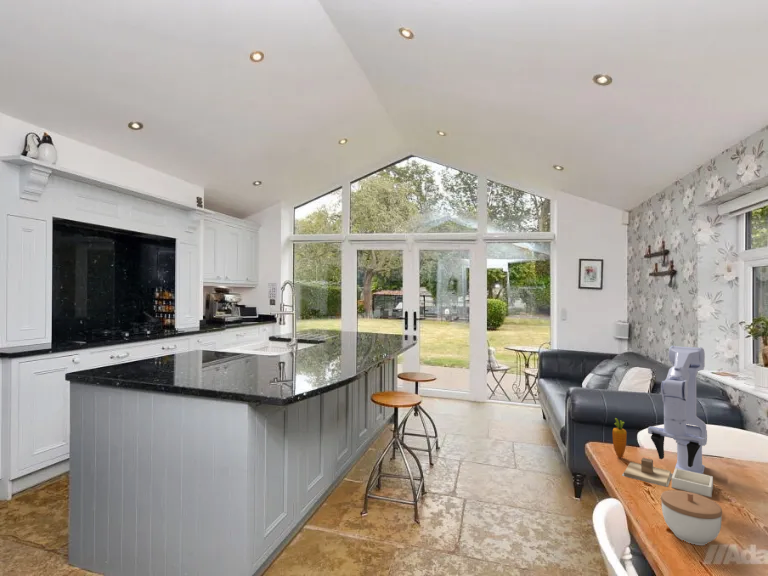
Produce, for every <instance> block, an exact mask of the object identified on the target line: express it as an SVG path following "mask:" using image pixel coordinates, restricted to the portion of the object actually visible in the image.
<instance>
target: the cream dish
mask: <svg viewBox="0 0 768 576" xmlns="http://www.w3.org/2000/svg"><path fill="white" fill-rule="evenodd" d="M671 488H672V489H677V490H680V491H686V492H691V493H695V494H698V495H701V496H704V497H707V498H712V496H713V495H712V494H713V490H714V489H713V488H714V476H712V475H709V474H705V473H703V474H700V473H695V472H691V471H686V470H682V469H677V468H675V467H674V470H673V473H672V477H671Z"/></svg>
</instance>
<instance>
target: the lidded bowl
mask: <svg viewBox="0 0 768 576" xmlns="http://www.w3.org/2000/svg"><path fill="white" fill-rule="evenodd" d="M660 500H661V501H660V502H661V511H662V516H663V519H664V521H665V523H666V525H667V527H668V528H669V529H670V530H671V531H672V532H673V534H674V536H675V537H676V538H678V539H679V540H681V541H683V540H684V541H683V542H685V541H686V542H685V543H687V542H688V544H690V543H691V545H694V544H695V546H706V545H705V544H707V543H708V542H709V543H711V542H713V541H715V539H716V538H717V537H718V536H719V534H720V531H721V528H722V515H723V509H722V507H721V506H720V504H718V503H717V502H716V501H714V500H713V499H711V498H710V497H708V496H704V495H700V494H696V493H692V492H688V491H684V490H680V489H677V490H675V489H671V490H665V491H662V493H660ZM709 543H708V544H709ZM708 544H707V545H708Z"/></svg>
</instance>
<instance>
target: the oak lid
mask: <svg viewBox="0 0 768 576" xmlns="http://www.w3.org/2000/svg"><path fill="white" fill-rule="evenodd" d="M640 461H641V462H640V463H637V462H635V461H630V462H629V463H628V465H627V467H626V468H625V470H624V471H623V473H624V476H623V477H625V476H628V477H627V478H629V477H632V478H631V479H633V478H636V479H635V480H637V479H640V480H639V481H641V480H644V481H643V482H645V481H648V482H647V483H649V482H652V483H651V484H654V483H656V484H655V485H658V484H660V485H659V486H662V485H665V486H664V487H666V485H667V482H668V480H669V477H670V474H672V473H671V472H672V471H671V470H669V469H668V470H667V469H663V468H659V467H654V460H653V459H651V458H646V457H642V458H641V460H640Z"/></svg>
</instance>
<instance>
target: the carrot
mask: <svg viewBox="0 0 768 576" xmlns="http://www.w3.org/2000/svg"><path fill="white" fill-rule="evenodd" d="M614 420H615V423H614V425H615V427H613V429H612V444H613V450H614V452H615V454H616V456H617V458H619V459H622V458H623V456H624V454H625V453H626V452H625V451H626V447H627V434H628V432H627V430H626V429H624V428H623V427H624V424H625V421H623V420H619V419H618V418H616V417H615V418H614Z"/></svg>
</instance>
